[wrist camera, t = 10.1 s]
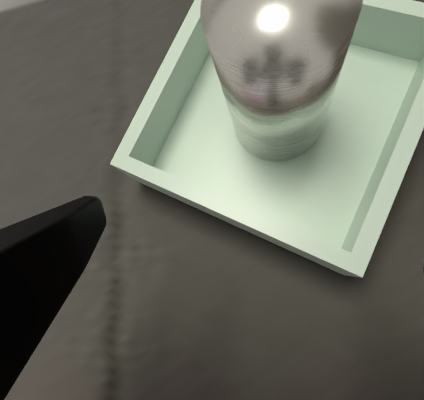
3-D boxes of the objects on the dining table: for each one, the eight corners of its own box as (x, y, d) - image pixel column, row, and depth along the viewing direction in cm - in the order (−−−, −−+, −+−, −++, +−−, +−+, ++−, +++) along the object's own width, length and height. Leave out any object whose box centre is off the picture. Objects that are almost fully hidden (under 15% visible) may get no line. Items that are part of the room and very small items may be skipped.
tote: (431, 64, 19) (470, 13, 15) (343, 275, 17) (362, 277, 14) (226, 11, 22) (216, -42, 19) (140, 182, 21) (109, 163, 17)
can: (342, 126, 18) (401, 0, 9) (267, 178, 18) (257, 103, 10) (287, 64, 20) (295, -94, 11) (218, 114, 20) (172, -2, 11)
